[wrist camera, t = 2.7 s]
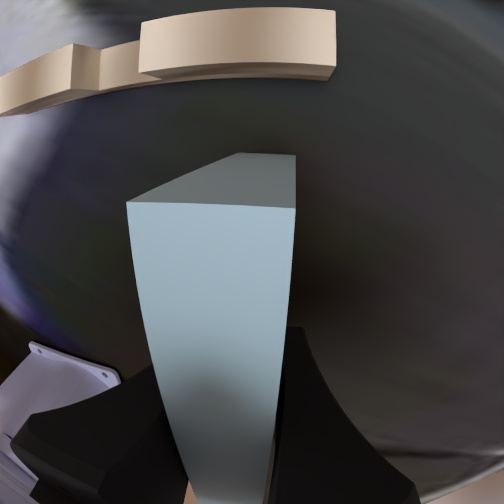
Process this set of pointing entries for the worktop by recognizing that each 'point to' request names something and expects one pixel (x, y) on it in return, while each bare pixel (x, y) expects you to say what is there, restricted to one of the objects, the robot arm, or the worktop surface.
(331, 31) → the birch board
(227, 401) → the teal plate
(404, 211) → the worktop surface
